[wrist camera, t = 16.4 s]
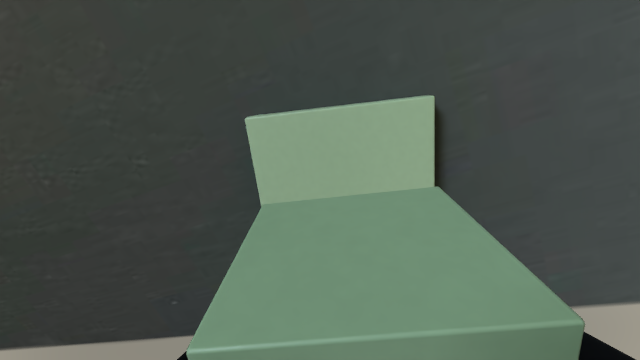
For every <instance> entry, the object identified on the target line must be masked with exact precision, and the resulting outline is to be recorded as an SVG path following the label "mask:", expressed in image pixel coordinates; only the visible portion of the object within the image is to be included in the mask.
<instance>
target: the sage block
mask: <svg viewBox="0 0 640 360" xmlns="http://www.w3.org/2000/svg"><path fill="white" fill-rule="evenodd" d="M584 327H585V323H584V321H583V319H582V318H581V317H580V316H579V315H578V314H577V313H575V312H574V311H573V310H572V309H571V308H570V307H569V306H568V305H567V304H566V303H565V302H563V301H562V300H561V299H560V298H559V297H558V296H557V295H556V294H555V293H554V292H553V291H552V290H550V289H549V288H548V287H547V286H546V285H545V284H544V283H543V282H542V281H541V280H540V279H538V278H537V277H536V276H535V275H534V274H533V273H532V272H531V271H530V270H529V269H528V268H526V267H525V266H524V265H523V264H522V263H521V262H520V261H519V260H518V259H517V258H516V257H515V256H513V255H512V254H511V253H510V252H509V251H508V250H507V249H506V248H505V247H504V246H503V245H501V244H500V243H499V242H498V241H497V240H496V239H495V238H494V237H493V236H492V235H491V234H489V233H488V232H487V231H486V230H485V229H484V228H483V227H482V226H481V225H480V224H479V223H478V222H476V221H475V220H474V219H473V218H472V217H471V216H470V215H469V214H468V213H467V212H466V211H464V210H463V209H462V208H461V207H460V206H459V205H458V204H457V203H456V202H455V201H454V200H452V199H451V198H450V197H449V196H448V195H447V194H446V193H445V192H444V191H443V190H442V189H441V188H439V187H428V188H419V189H409V190H399V191H389V192H379V193H369V194H360V195H350V196H340V197H330V198H320V199H311V200H301V201H291V202H281V203H271V204H264V205H262V207H261V209H260V211H259V213H258V215H257V217H256V219H255V221H254V223H253V224H252V226H251V228H250V230H249V232H248V234H247V236H246V238H245V240H244V242H243V244H242V245H241V247H240V249H239V251H238V253H237V255H236V257H235V259H234V261H233V263H232V264H231V266H230V268H229V270H228V272H227V274H226V276H225V278H224V280H223V282H222V283H221V285H220V287H219V289H218V291H217V293H216V295H215V297H214V299H213V301H212V303H211V304H210V306H209V308H208V310H207V312H206V314H205V316H204V318H203V320H202V322H201V323H200V325H199V327H198V329H197V331H196V333H195V335H194V337H193V339H192V341H191V342H190V344H189V346H188V348H187V353H186V355H187V358H188V360H578V359H579V353H580V348H581V343H582V338H583V332H584Z"/></svg>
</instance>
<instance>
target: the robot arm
mask: <svg viewBox="0 0 640 360" xmlns="http://www.w3.org/2000/svg"><path fill="white" fill-rule="evenodd" d="M186 353H187V351H186V352H185V353H184V354H183V355H182V356H181V357H179V358H178V359H177V360H188V358H187V355H186ZM578 360H635V359H634V358H632V357H630V356H628V355H626V354H624V353H623V352H621V351H619V350H617V349H615V348H613V347H611V346H609V345H607V344H606V343H604V342H602V341H600V340H598V339H596V338H595V337H593V336H591V335H589V334H587V333H585V332H583V338H582V343H581V348H580V353H579V359H578Z"/></svg>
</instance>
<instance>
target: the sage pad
mask: <svg viewBox="0 0 640 360" xmlns="http://www.w3.org/2000/svg"><path fill="white" fill-rule="evenodd" d="M245 123H246V128H247V134H248V139H249V144H250V149H251V155H252V160H253V165H254V170H255V176H256V181H257V186H258V191H259V197H260V202H261V207H262V205H264V204H271V203H281V202H291V201H301V200H311V199H320V198H330V197H340V196H350V195H360V194H369V193H379V192H389V191H399V190H409V189H419V188H428V187H435V97H434V96H430V95H425V96H416V97H408V98H399V99H391V100H382V101H374V102H365V103H357V104H349V105H340V106H332V107H323V108H315V109H306V110H298V111H289V112H281V113H272V114H264V115H255V116H249V117H247V118H245Z"/></svg>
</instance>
